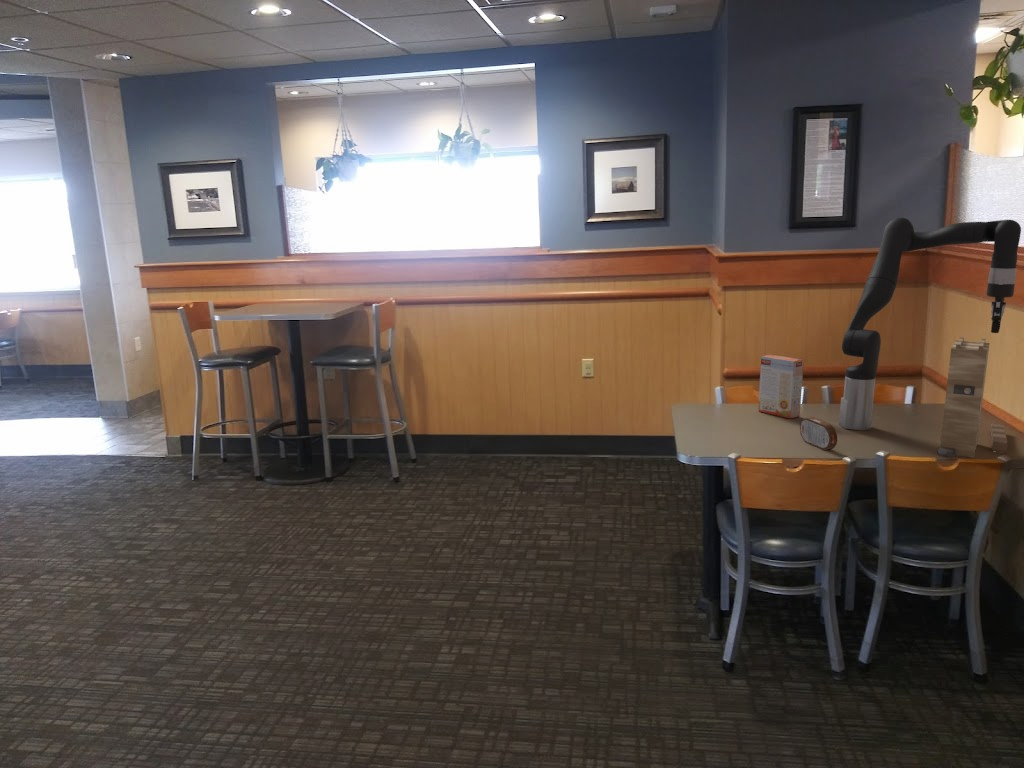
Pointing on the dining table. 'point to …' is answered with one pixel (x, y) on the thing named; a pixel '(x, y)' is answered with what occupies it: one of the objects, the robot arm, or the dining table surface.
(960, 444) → the stand
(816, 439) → the tin
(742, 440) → the dining table surface
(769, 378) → the cracker box
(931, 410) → the dining table surface
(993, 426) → the bar
